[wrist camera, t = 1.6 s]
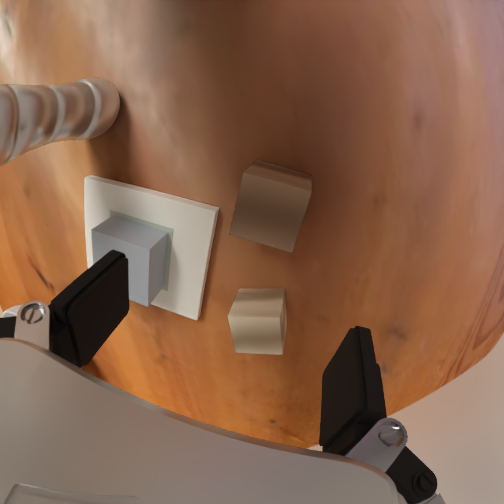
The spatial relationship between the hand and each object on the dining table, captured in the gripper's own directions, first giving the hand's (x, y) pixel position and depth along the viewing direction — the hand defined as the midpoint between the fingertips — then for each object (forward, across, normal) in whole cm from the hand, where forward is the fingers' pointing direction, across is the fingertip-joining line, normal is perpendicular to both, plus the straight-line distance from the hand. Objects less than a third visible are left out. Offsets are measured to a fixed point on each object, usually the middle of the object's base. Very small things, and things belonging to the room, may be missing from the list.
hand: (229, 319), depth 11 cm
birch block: (+18, -2, +13) cm, 22 cm away
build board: (+17, +13, +10) cm, 24 cm away
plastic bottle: (+18, +20, -5) cm, 27 cm away
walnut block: (+18, 0, 0) cm, 18 cm away
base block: (+16, +13, +10) cm, 23 cm away
